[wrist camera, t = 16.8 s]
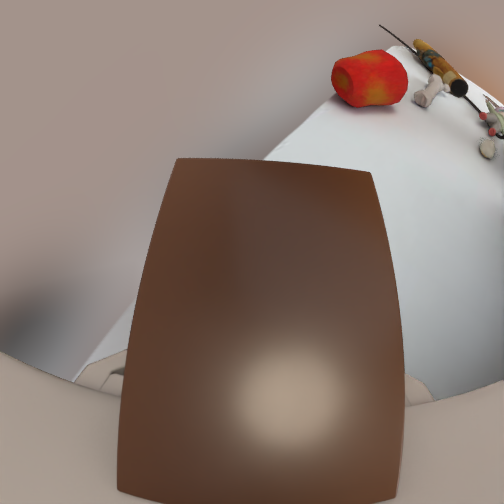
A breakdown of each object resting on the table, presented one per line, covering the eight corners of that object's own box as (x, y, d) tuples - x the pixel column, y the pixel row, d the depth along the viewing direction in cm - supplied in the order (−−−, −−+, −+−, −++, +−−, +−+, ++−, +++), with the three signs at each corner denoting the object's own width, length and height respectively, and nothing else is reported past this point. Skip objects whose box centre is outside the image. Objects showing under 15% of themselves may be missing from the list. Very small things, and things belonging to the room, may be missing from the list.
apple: (339, 120, 35) (392, 106, 36) (373, 104, 26) (428, 93, 28) (313, 68, 32) (370, 60, 34) (342, 43, 24) (401, 41, 26)
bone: (428, 83, 42) (433, 70, 39) (448, 96, 41) (453, 83, 37) (401, 96, 36) (407, 78, 33) (426, 112, 34) (434, 95, 31)
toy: (477, 95, 32) (501, 94, 34) (462, 107, 37) (488, 103, 39) (506, 145, 31) (524, 136, 33) (489, 155, 37) (510, 144, 38)
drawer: (286, 332, 17) (371, 171, 5) (281, 438, 14) (387, 545, 2) (223, 329, 17) (176, 156, 5) (214, 435, 14) (118, 538, 2)
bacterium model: (502, 151, 33) (483, 133, 35) (506, 145, 31) (487, 127, 33) (493, 168, 29) (471, 147, 31) (498, 161, 28) (476, 139, 30)
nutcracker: (482, 93, 48) (488, 95, 49) (481, 95, 48) (487, 97, 49) (519, 129, 40) (524, 130, 41) (518, 131, 41) (523, 132, 41)
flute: (421, 55, 56) (426, 41, 51) (463, 100, 42) (472, 81, 36) (403, 48, 56) (407, 33, 51) (442, 90, 42) (450, 70, 37)
